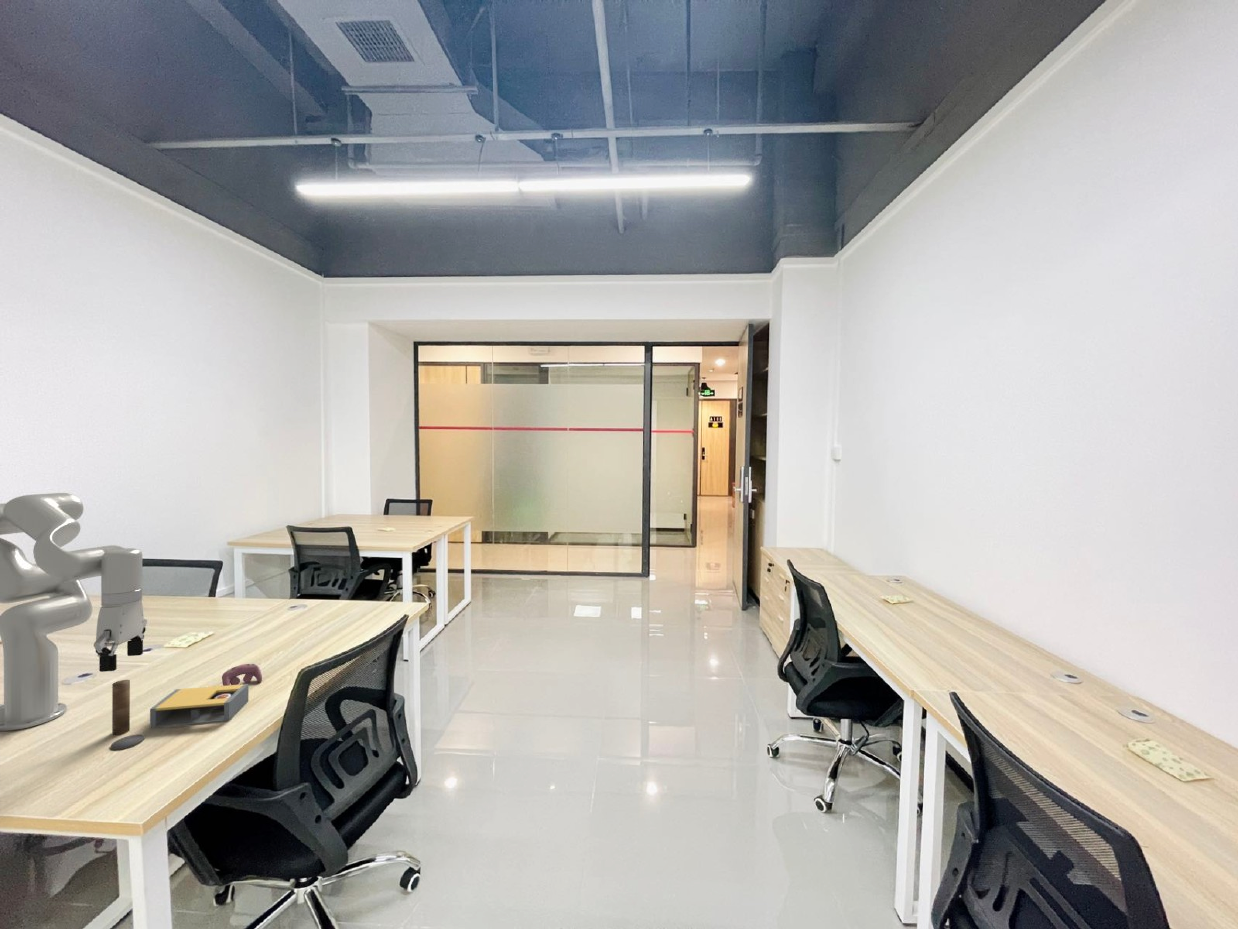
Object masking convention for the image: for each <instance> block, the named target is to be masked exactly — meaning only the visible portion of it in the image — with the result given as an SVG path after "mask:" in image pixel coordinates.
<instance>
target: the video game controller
mask: <svg viewBox="0 0 1238 929" xmlns="http://www.w3.org/2000/svg"><path fill="white" fill-rule="evenodd" d="M243 675H244V676H243ZM239 676H243V677H242V681H243V682H244V684H248V683H250V682H251V681H252V679H253V678H255V679H256V681H257V682H258V683H261V682H262V681H263V675H262V672H261V669H260V667H259V666H258V665H257V664H255V663H244V664H240V665H235V666H234V667H232V668H230V669H227V670H226V671H225V672H224V673H223V674H222V675H221V680H222V686H228V685H240V682H241V679H240V677H239Z"/></svg>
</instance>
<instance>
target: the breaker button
mask: <svg viewBox="0 0 1238 929" xmlns="http://www.w3.org/2000/svg"><path fill="white" fill-rule="evenodd" d="M230 697H231V694H222V695H219V696H217V697H215V699H221V698H230Z"/></svg>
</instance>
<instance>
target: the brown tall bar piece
mask: <svg viewBox="0 0 1238 929" xmlns="http://www.w3.org/2000/svg"><path fill="white" fill-rule="evenodd" d="M111 686H112V687H111V688H112V691H111V692H112V694H111V696H112V697H111V698H112V699H111V701H112V702H111V703H112V706H111V707H112V709H111V712H112V714H111V716H112V718H111V723H112V725H111V727H112V728H111V730H112V734H111V735H112V736H120V735H124V734H127V733H128V732H130V729H131V728H130V726H131V725H130V723H131V722H130V718H131V716H130V715H131V709H130V708H131V707H130V706H131V680H130V679H122V680H118V681H115V682H113V683H112V685H111Z"/></svg>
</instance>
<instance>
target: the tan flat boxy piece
mask: <svg viewBox="0 0 1238 929" xmlns="http://www.w3.org/2000/svg"><path fill="white" fill-rule="evenodd" d="M222 694H231V697H230V698H221V699H215V697H217V696H219V695H222ZM248 702H249V683H244V684H238V685H231V684H230V685H228V686H223V685H218V686H217V685H216V686H203V687H202V686H201V687H192V688H179V689H178V688H176V689H174V690H173V691H171V693H169V694H168V695H166V696H165V697H164V698H163V699H161V700H160V701H159V702H157V703H156V704H155V705H154V706H152V707H150V708H149V729H157V728H159V729H160V728H168V727H169V728H171V727H180V726H190V725H200V724H201V725H202V724H212V723H222V722H230V721H232V719H233V718H234V717H235V715H237V714H238V713H239V712H240V711H241V710H242V709H243V707H245V705H246V704H247V703H248Z"/></svg>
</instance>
